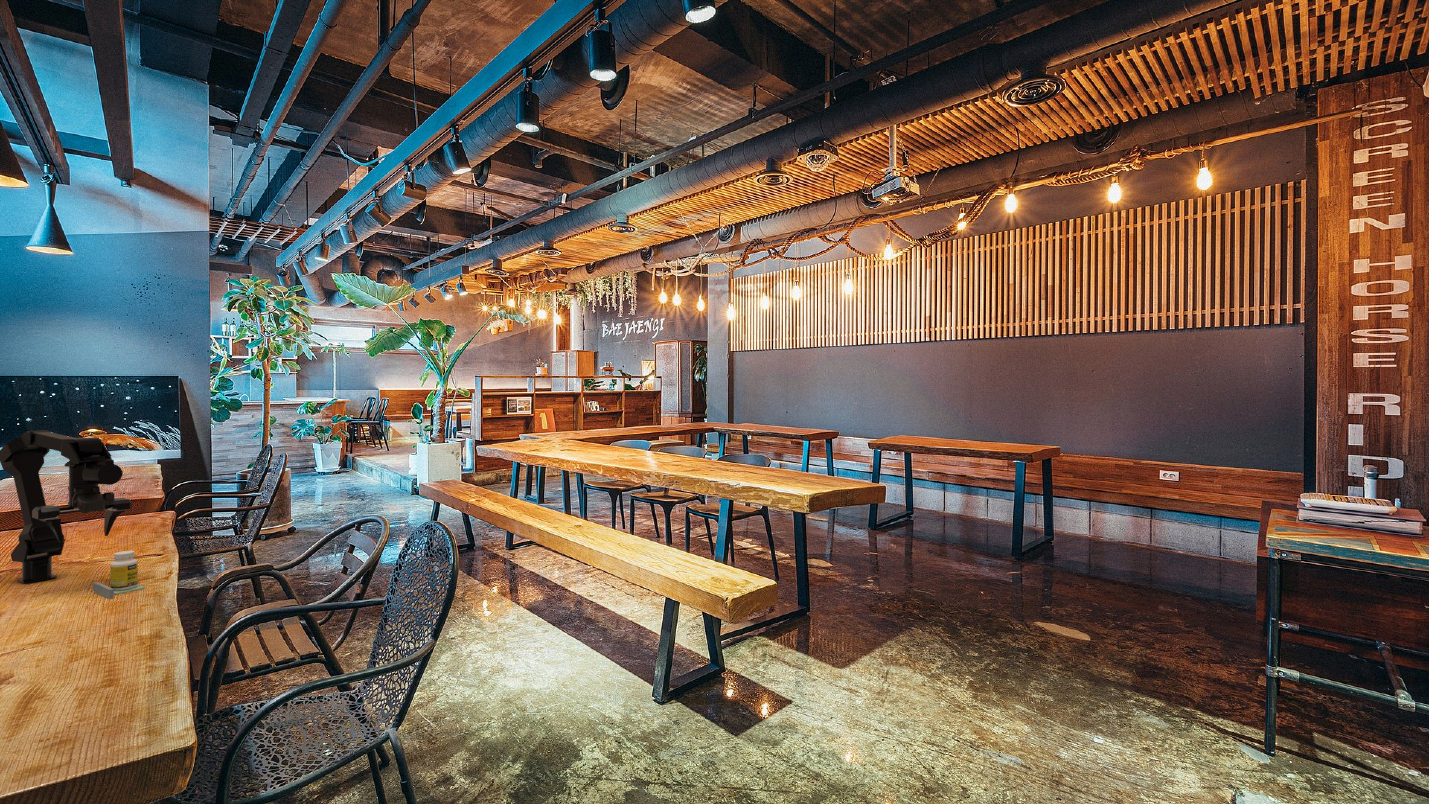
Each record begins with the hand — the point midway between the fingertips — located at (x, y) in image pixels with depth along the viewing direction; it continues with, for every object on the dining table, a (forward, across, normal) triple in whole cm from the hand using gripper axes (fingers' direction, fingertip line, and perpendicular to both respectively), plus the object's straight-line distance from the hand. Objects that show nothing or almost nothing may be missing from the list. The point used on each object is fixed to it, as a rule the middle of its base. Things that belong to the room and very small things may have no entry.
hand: (83, 539), depth 171 cm
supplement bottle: (+13, +4, -14) cm, 19 cm away
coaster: (+13, +4, -14) cm, 20 cm away
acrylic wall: (+13, 0, -15) cm, 20 cm away
